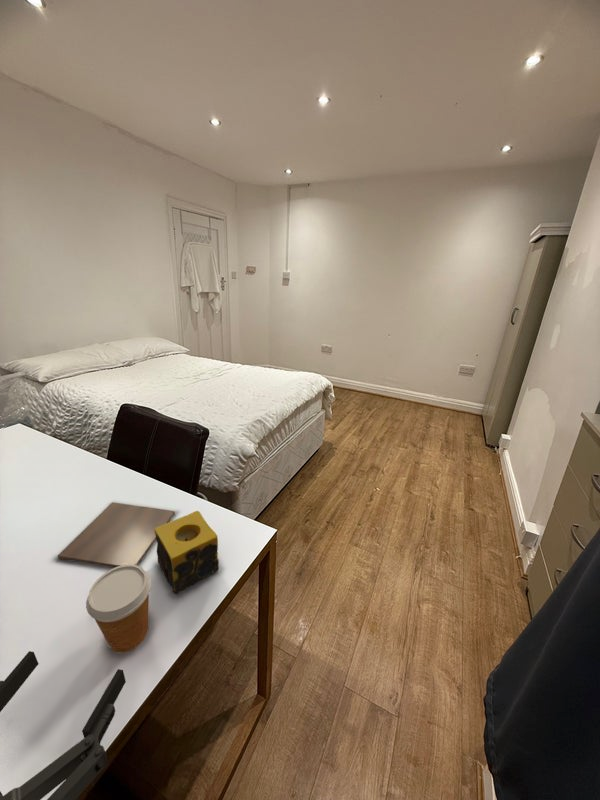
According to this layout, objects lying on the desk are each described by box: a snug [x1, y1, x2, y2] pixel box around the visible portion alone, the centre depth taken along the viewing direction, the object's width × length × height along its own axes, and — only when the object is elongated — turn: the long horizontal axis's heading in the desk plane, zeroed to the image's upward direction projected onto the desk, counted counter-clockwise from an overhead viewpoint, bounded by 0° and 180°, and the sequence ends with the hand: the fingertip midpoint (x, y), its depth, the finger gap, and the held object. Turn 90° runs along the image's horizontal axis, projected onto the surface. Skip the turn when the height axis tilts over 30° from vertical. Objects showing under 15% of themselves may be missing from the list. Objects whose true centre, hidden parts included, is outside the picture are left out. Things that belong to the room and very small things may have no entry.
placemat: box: [57, 502, 176, 568], centre depth 78 cm, size 18×18×1 cm
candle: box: [154, 510, 220, 595], centre depth 69 cm, size 10×10×10 cm
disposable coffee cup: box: [85, 565, 152, 654], centre depth 55 cm, size 10×10×12 cm
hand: (77, 665), depth 45 cm, fingers open, 13 cm apart
